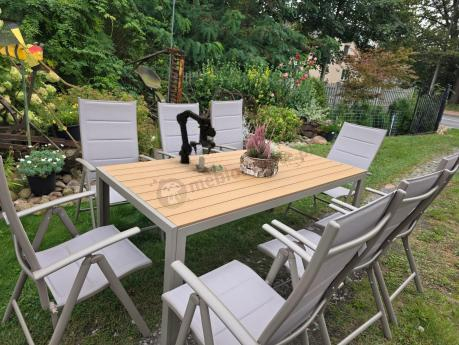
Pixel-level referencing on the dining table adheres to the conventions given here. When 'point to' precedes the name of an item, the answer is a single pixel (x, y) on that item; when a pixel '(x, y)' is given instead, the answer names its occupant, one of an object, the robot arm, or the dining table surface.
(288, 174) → the dining table surface
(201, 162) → the long rectangular block
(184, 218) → the dining table surface
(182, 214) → the dining table surface
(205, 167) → the frame
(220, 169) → the holder
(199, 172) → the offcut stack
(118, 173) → the dining table surface
